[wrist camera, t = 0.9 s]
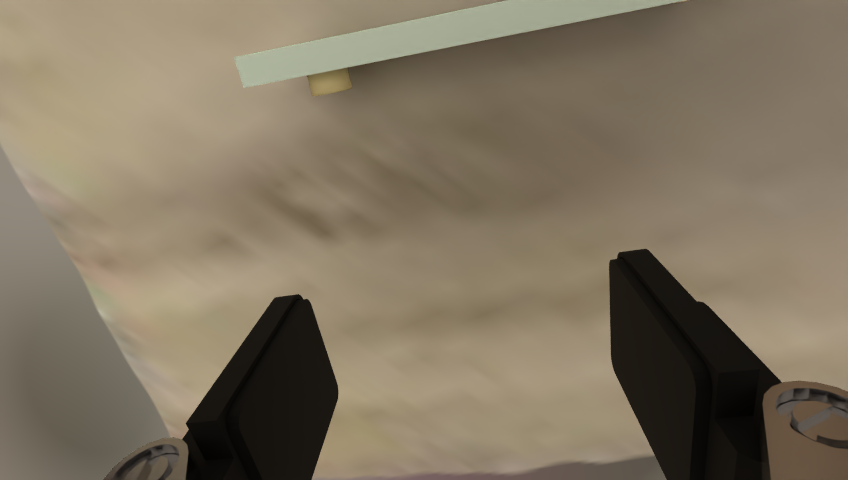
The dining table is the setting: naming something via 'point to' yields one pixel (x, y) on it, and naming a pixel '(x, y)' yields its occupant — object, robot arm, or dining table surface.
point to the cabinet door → (418, 39)
